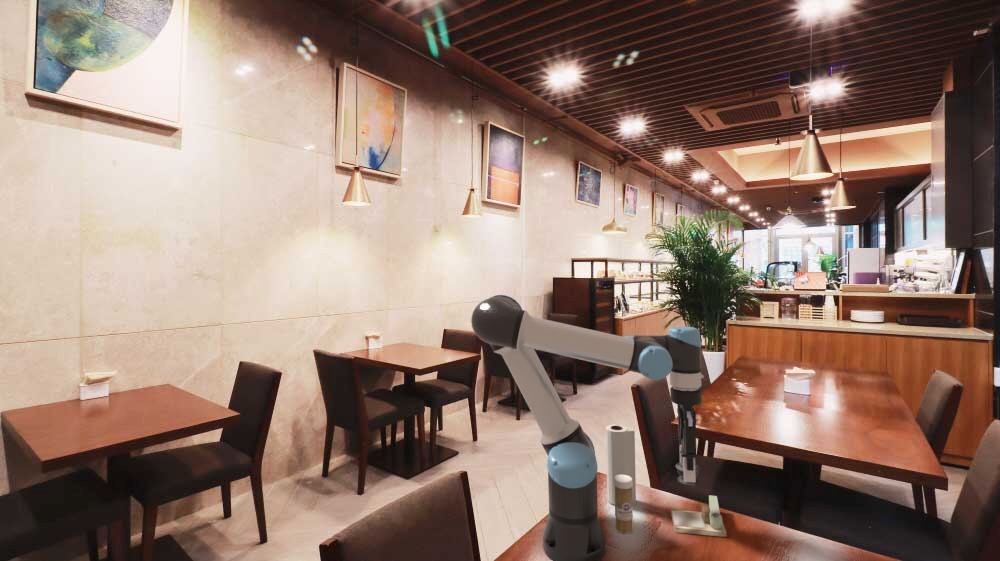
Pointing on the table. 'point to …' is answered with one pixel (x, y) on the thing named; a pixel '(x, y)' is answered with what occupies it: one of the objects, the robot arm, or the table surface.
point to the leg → (715, 513)
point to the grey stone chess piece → (681, 469)
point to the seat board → (695, 523)
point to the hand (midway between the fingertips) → (687, 475)
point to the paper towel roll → (620, 458)
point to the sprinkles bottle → (623, 503)
